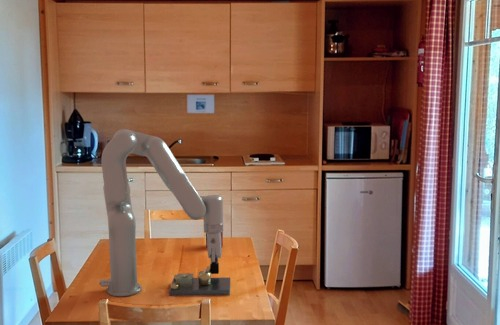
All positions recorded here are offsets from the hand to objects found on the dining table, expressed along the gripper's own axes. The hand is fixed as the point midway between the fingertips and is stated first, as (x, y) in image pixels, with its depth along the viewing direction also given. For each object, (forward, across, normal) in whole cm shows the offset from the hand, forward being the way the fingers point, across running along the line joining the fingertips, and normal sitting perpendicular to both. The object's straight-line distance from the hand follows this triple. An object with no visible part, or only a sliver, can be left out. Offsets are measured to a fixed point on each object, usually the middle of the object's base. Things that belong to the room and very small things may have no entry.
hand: (214, 273), depth 221 cm
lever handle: (+1, -4, +3) cm, 5 cm away
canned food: (+4, +46, +3) cm, 46 cm away
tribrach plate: (+3, -8, +5) cm, 10 cm away
